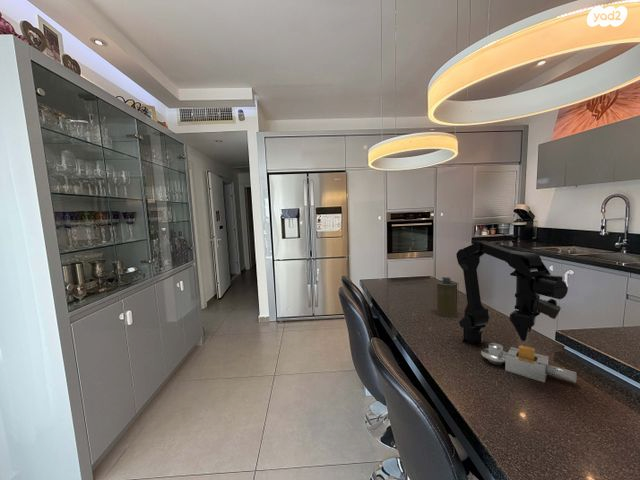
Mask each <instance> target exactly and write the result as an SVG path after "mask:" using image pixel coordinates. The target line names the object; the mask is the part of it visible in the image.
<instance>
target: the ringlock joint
mask: <svg viewBox="0 0 640 480" xmlns="http://www.w3.org/2000/svg"><path fill="white" fill-rule="evenodd" d="M480 354H481V356H482V357H483V358H485V359H486V360H488V362H489V363H491V364H493V365H496V366H497V365H499V366H500V365H503V364H504V363H505V364H504V365H505V367H504V369H505V371H506V372H509V373H512V374H515V375H519V376H522V377H525V378H528V379H531V380H536V381H538V382H542V383H546V380H547V376H548V375H549V376H552V377H555V378H559V379H561V380H566V381H569V382H573V383H576V384H577V372H576V371H573V370H569V369H565V368H562V367H558V366H554V365H551V364H549V356H547V355H543V354H539V353H536V352H535V361H532V360H528V359H524V358H521V357H519V348H517V347H512V346H510V347H509V350H508V352H507V351H505V350H504V346H503V345H502V344H499V343H498V342H490V343H488V347H485V348H482V349H481V351H480Z"/></svg>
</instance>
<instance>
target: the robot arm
mask: <svg viewBox="0 0 640 480" xmlns="http://www.w3.org/2000/svg"><path fill="white" fill-rule="evenodd" d="M484 255H488V256H490V257H493V258H496V259H499V260H501V261H503V262H505V263H507V265H508V266H509V267H511V268H512V269H514V271H511V273H509V275H510V276H512V277H515V278H516V279H515V281H516V282H515V284H516V285H515V293H514V298H515V305H514V309H515V310H513V311H512V312H511V313H510V314H509V321H510V322H511V323H512V325H513V327H514V328H515V331H516V333H517V334H518V336H519V338H520V340H521V341H523V342H526V340H527V337H528V333H530V332H531V330H532V327H534V326H535V325H536V318H537V317H538V316H539V315H541V314H543V315H545V316H548V317H549V318H551V319H552V320H556V318H557V316H558V314H559V313H560V311H561V308H562V307H560V305H558V302H557V300H562V299H564V298H565V297H566V296H567V295H568V290H569V287H568V285H567V283H566V282H565V281H564V280H563V276H560V275H552V274H551V272H550V271H549V270H548V268H547V266H546V265H545V264H544V262H543V261H542V258H541V256H540V255H539V254H537V253H534V252H528V251H527V252H526V251H517V250H512V249H509V248H507V247H503V246H501V245H497V244H496V243H492V242H489V241H487V240H478V241H475V242H474V243H472V244H470V245H467V246H466V247H463V248H461V249H460V248H459V250H458V251H457V252H456V255H455V256H456V261H457V264H458V265H459V266H460V268H461V269H462V272H463V278H464V279H463V280H464V285H465V286H464V288H465V294H466V301H467V302H466V303H467V304H466V307H465V309H464V314H463V316H464V317H463V318H461V319H460V320H459V321H458V323H459V327H460V328H463V330H462V331H463V332H462V333H463V334H462V335H463V338H462V339H461V342H463V343H466V344H471V345H474V346H478V347H479V346H480V345H481V344H483V342H484V332H483V328H484V329H485V328H486V326H487V324H488V323H489V319H490V316H489V309H488V308H485V307H484V306H483V304H482V300H481V293H480V285H479V277H478V271H477V269H478V267H479V265H480V260H481V259H480V258H481V257H483V256H484ZM541 296H544V297H549V298H550V299H547V300H546V299H541V298H540V297H541Z"/></svg>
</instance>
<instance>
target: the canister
mask: <svg viewBox="0 0 640 480" xmlns="http://www.w3.org/2000/svg"><path fill="white" fill-rule="evenodd" d="M459 284H460V283H459V282H457V281H453V280H452V279H451V277H448V276H446V277H445V276H442V277H441V280H437V281H436V314H437V315H439V316H442V317H446V318H452V317H453V318H454V317H457V316H458V315H459V314H458V304H459V302H460V301H459V299H460V297H459V296H460V295H459V294H460V293H459V292H460V291H459V287H460V285H459Z"/></svg>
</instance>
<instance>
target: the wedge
mask: <svg viewBox="0 0 640 480" xmlns="http://www.w3.org/2000/svg"><path fill="white" fill-rule="evenodd" d="M518 349H519V357H521V358H524V359H528V360H532V361H535V353H536V349H535V348H534V347H530V346H525V345H523V344H521V345H519V346H518Z"/></svg>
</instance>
